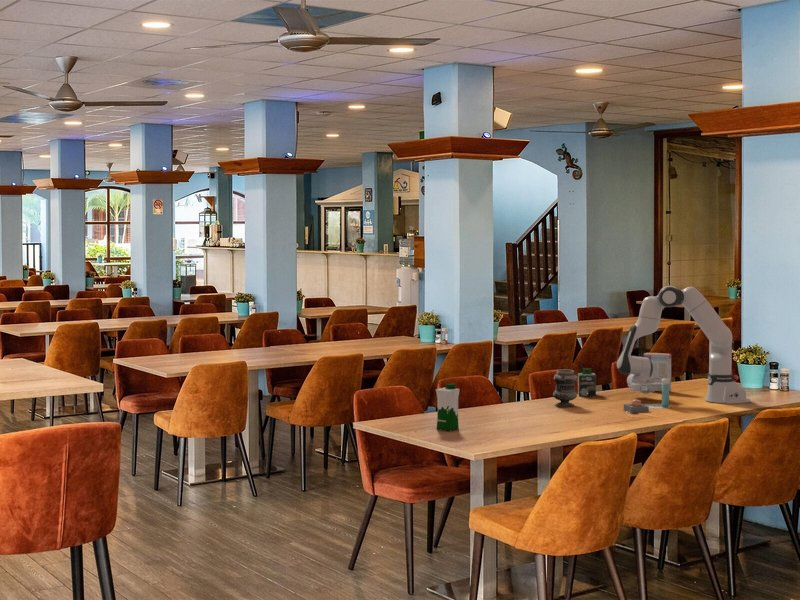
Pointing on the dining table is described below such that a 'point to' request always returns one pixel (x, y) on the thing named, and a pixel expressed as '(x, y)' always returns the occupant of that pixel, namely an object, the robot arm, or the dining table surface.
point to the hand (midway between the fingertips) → (656, 388)
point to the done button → (636, 403)
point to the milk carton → (447, 407)
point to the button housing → (636, 408)
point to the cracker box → (660, 365)
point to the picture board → (654, 406)
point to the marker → (665, 393)
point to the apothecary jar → (565, 387)
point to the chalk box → (586, 383)
